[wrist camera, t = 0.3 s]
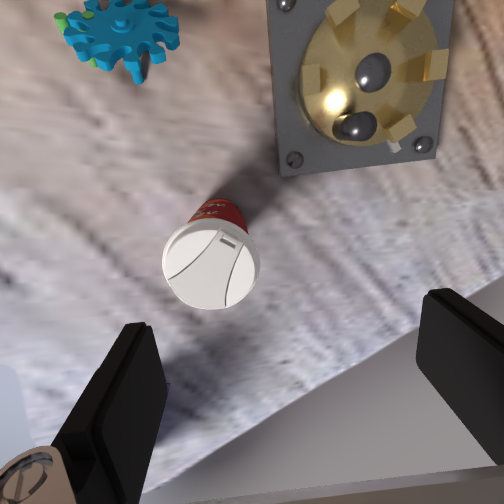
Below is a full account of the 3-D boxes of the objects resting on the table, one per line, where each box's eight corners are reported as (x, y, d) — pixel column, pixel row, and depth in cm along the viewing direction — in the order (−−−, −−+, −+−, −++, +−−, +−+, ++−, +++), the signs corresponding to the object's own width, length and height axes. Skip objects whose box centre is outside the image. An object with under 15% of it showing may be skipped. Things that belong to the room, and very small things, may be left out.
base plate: (264, -11, 29) (267, -25, 27) (445, -32, 29) (463, -47, 27) (278, 174, 36) (281, 177, 33) (424, 157, 36) (438, 159, 33)
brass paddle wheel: (340, -33, 27) (375, -89, 20) (451, 37, 29) (515, 9, 23) (278, 113, 31) (289, 107, 24) (379, 164, 34) (415, 171, 27)
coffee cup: (206, 176, 35) (187, 203, 21) (264, 210, 37) (280, 255, 23) (175, 233, 38) (140, 291, 24) (231, 262, 40) (228, 331, 26)
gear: (192, -1, 28) (156, 66, 24) (197, 61, 33) (169, 124, 29) (78, -26, 28) (23, 36, 24) (102, 40, 33) (61, 100, 29)
